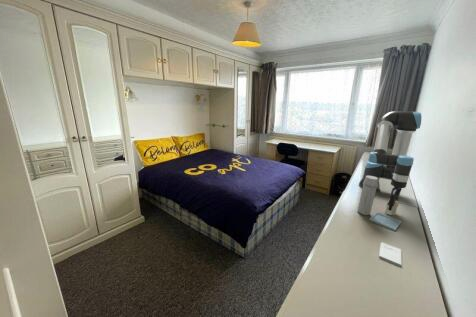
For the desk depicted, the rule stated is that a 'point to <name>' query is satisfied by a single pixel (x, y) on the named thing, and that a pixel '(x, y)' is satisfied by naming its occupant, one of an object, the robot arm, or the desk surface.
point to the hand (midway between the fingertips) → (390, 212)
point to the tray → (385, 221)
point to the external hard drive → (390, 254)
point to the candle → (393, 208)
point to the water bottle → (367, 195)
